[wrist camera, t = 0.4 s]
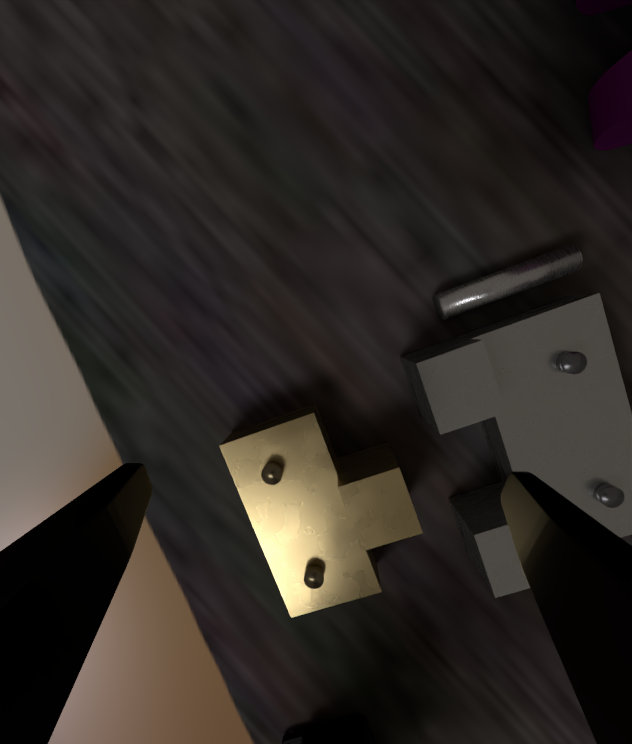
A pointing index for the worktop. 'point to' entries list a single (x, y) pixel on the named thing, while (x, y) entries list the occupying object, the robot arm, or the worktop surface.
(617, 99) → the mounting bracket
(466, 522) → the fixed steel leaf
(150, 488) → the robot arm
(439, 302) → the hinge pin
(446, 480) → the worktop surface
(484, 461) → the worktop surface
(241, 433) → the brass leaf
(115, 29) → the worktop surface
